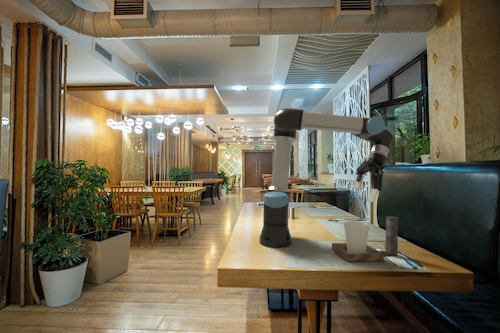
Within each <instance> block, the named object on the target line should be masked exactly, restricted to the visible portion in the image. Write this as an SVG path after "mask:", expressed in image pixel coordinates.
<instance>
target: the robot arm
mask: <svg viewBox="0 0 500 333" xmlns="http://www.w3.org/2000/svg"><path fill="white" fill-rule="evenodd" d="M273 126H274V129H273V130H274V131H273V139H274V140H275V149H274V157H273V167H272V176H271V184H270V186H269V187H268V188H267V192H265V193H264V194H263V198H262V202H263V220H262V221H263V222H262V223H263V224H262V225H263V226H262V229H261V233H260V235H259V243H260V245H262V246H265V247H269V248H270V247H271V248H285V247H288V246H291V245H292V244H293V243H292V241H293V239H292V238H293V237H292V236H291V235H292V234H291V232H290V228H289V206H290V194H291V190H290V188H288V186H289V185H288V184H289V176H290V169H291V168H290V166H291V158H292V149H293V143H294V141H296V140H297V131H302V130H305V129H306V130H313V131H314V130H315V131H322V132H323V131H325V132H335V133H336V132H337V133H346V134H351V135H352V136H355V137H356V138H359V139H361V140H363V141H367V142H368V143H371V144H372V147H371V150H370V152H369V155H368V157H365V158H364V160H363V162H362V163H361V164H360V165H358V167H357V168H356V169H355V175H357V177H356V179H355V182H354V185H353V186H352V188H353V189H356V190H360V189H361V187H362V184H363V181H364V178H365V176H364V175H365V174H367V173H370V174H371V175H370V176H371V177H372V186H373V187H372V189H371V192H370V193H369V197H368V199H367V202H371V203H375V201H376V198H377V195H378V192H382V191H383V178H384V177H383V176H384V170H382V169H381V168H382V167H383V166H384V165H385V164H386V161H387V157H388V155H389V152H390V149H391V146H392V144H393V141H394V139H395V134H396V130H395V129H394V128H393V127H391V126H386V120H384V119H383V118H382V117H380V116H371V117H360V116H351V115H341V114H340V115H338V114H328V113H327V114H326V113H316V112H306V111H305V110H304V109H299V108H298V109H297V108H291V107H290V108H288V107H287V108H282V109H279V110H278V111H277V112H276V113H275V115H274V118H273Z"/></svg>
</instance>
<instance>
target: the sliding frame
mask: <svg viewBox="0 0 500 333" xmlns="http://www.w3.org/2000/svg"><path fill="white" fill-rule="evenodd" d="M398 219H399V218H398V217H395V216H385V249H384V250H377V248H374V247H372V246H371V245H369V244H367V245H366V252H365V253H348V251H347V243H346V242H331V250H333V252H335V253H336V254H337V255H339V256H340V257H341V258H343V259H344V260H345V261H346V262H382V261H383V262H385V255H386V256H388V255H389V256H398V251H399V250H398V247H399V245H398V243H399V242H398V239H399V238H398V234H399V232H398V228H399V226H398V225H399V224H398V222H399V220H398Z"/></svg>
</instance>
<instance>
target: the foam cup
mask: <svg viewBox="0 0 500 333" xmlns="http://www.w3.org/2000/svg"><path fill="white" fill-rule="evenodd" d="M343 229H344V235H345V243H347V250H346V252H347V253H367V252H366V245H368V244H367V243H368V239H369V238H368V237H369V231H370V224H369V222H366V221H359V220H345V221H343Z"/></svg>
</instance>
